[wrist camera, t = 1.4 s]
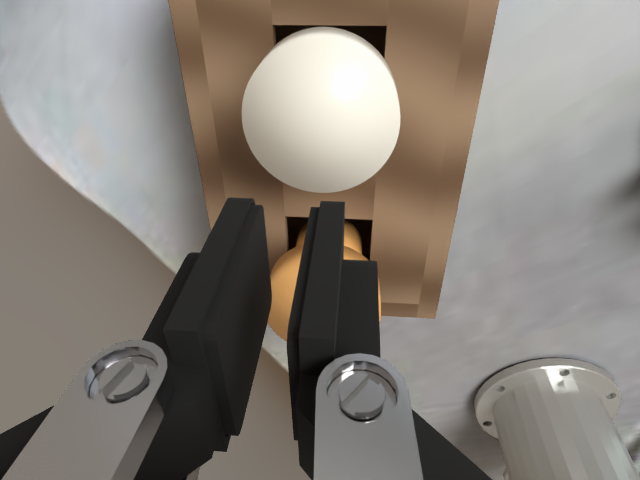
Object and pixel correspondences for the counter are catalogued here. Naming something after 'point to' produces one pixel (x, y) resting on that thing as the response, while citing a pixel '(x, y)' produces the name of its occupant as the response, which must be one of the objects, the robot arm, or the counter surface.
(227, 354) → the robot arm
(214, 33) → the wooden peg board
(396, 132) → the cream button
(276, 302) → the orange button
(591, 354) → the counter surface
